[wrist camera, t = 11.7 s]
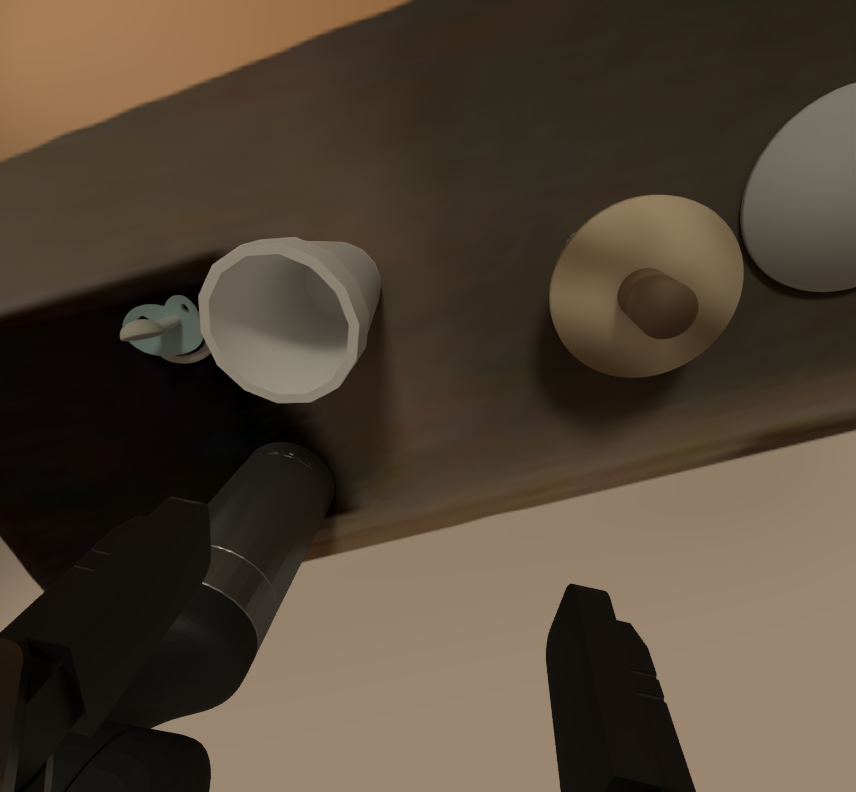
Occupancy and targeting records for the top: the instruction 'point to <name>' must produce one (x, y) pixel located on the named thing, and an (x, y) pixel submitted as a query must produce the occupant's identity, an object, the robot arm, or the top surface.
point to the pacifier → (166, 330)
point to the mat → (806, 198)
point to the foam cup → (289, 315)
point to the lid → (646, 285)
